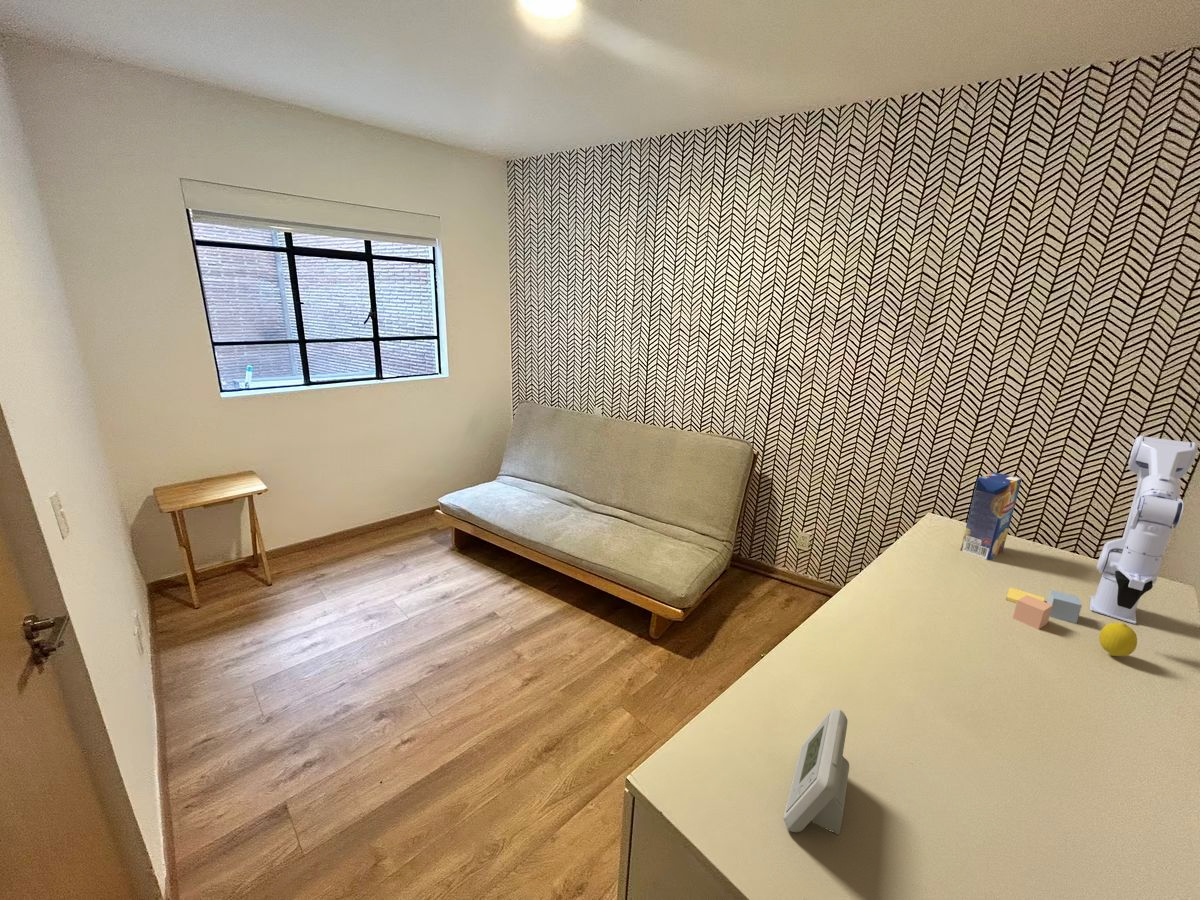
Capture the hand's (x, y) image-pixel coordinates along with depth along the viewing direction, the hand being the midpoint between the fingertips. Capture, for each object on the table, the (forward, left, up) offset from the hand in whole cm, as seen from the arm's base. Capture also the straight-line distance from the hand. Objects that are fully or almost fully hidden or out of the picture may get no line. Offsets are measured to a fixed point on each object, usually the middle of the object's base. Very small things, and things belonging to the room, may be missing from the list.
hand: (1123, 606), depth 110 cm
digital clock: (+88, -32, -9) cm, 94 cm away
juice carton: (-34, -29, -9) cm, 45 cm away
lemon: (+8, 0, -9) cm, 12 cm away
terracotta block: (+4, -14, -9) cm, 17 cm away
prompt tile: (-7, -16, -9) cm, 19 cm away
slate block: (-5, -9, -9) cm, 14 cm away
